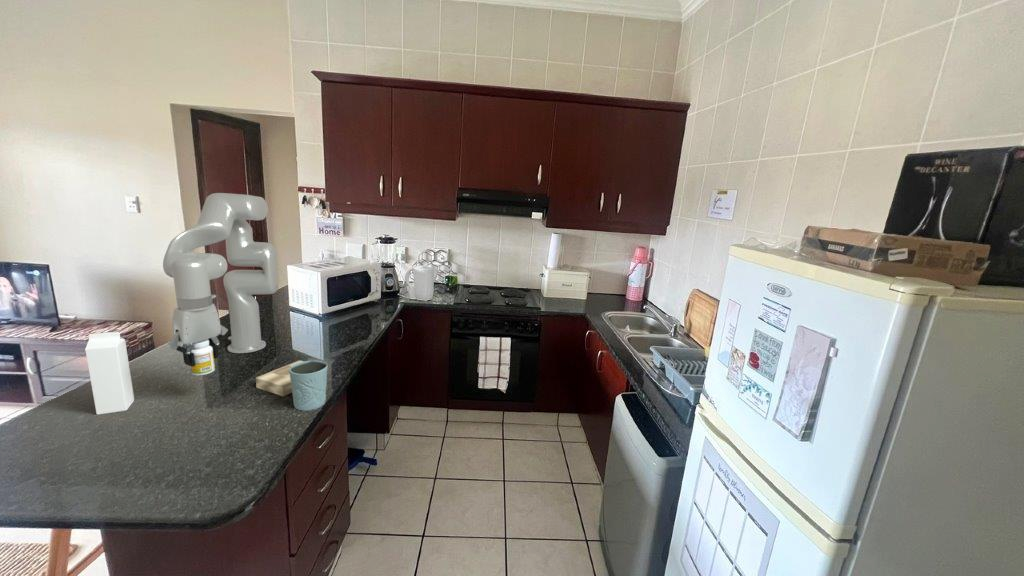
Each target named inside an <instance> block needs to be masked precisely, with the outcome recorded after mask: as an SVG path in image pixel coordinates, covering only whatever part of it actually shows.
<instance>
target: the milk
mask: <svg viewBox="0 0 1024 576" xmlns="http://www.w3.org/2000/svg"><path fill="white" fill-rule="evenodd" d="M84 350H85V358H86V361H87V362H86V363H87V367H88V372H89V373H88V374H89V380H90V385H91V390H92V391H91V392H92V396H93V403H94V406H95V413H96V415H103V414H111V413H117V412H124V411H125V412H126V411H127V410H128V409H129V408H130V406H131V405H132V404H133V403H134V401H135V394H134V389H133V388H134V387H133V382H132V376H131V375H132V374H131V369H130V363H129V357H128V351H127V344H126V339H125V338H124V337H121V334H120V332H119V331H113V332H100V333H89V334H88V341H87V344H86V347H85V348H84Z"/></svg>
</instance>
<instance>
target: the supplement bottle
mask: <svg viewBox="0 0 1024 576" xmlns="http://www.w3.org/2000/svg"><path fill="white" fill-rule="evenodd" d="M209 344H210V343H209V340H208V339H206V340H203V341H199V342H196V343H193V347H192V351H191V353H194V359H195V366H193V367H192V366H190V370H191V374H192V375H194V376H205V375H208V374H211V373H213V372H214V371H215V370H216V365H215V358H214V355H213V348H212V347H211V346H209Z"/></svg>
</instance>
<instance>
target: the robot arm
mask: <svg viewBox="0 0 1024 576" xmlns="http://www.w3.org/2000/svg"><path fill="white" fill-rule="evenodd" d="M268 212H269V207H268V203H267V201H266V199H265V198H264V197H261V196H257V195H251V194H243V193H242V194H241V193H240V194H239V193H225V192H215V193H211V194H210V195H208V196H207V197H206V198H205V201H204V204H203V207H202V209H201V212H200V215H199V218H198V220H197V223H196V224H195V225H193V226H191V227H189V228H187V229H185V230H184V231H182V232H180V233H179V234H177V235H176V236H175V237H173V239H171V241H170V242H169V243H168V246H167V248H166V251H165V255H164V257H163V261H162V268H163V272H164V273H165V275H166V276H168V277H169V278H173V286H174V293H175V297H176V306H177V308H174V309H173V313H172V338H171V339H170V341H169V342H168V343H167V345H166V347H167V348H170V349H173V350H176V351H178V352H180V353H182V356H183V362H184V364H185V365H187V366H189V367H191V366H192V367H193V366H195V359H194V353H191V351H192V347H193V343H196V342H199V341H203V340H206V339H208V340H209V346H211V347H212V348H213V355H214V359H218V358H219V345H220V342H221V340H222V339H224V336H225V334H226V333H228V331H229V329H228V328H227V327H225V326H223V325H222V324H221V321H220V316H219V313H218V310H217V307H216V305H215V303H213V300H215V299H217V295H216V294H215V293H213V294H212V293H211V291H212V290H211V283H210V281H212V280H216V279H219V278H221V277H223V280H222V281H223V287H224V290H225V292H226V293H225V294H226V298H227V301H228V311H229V321H230V322H229V323H230V333H231V336H228V337H227V339H228V340H229V341H230V342H231V343H230V344H229V345H228V346H227V352H230V353H234V354H249V353H253V352H257V351H260V350H263V349H264V348H265V347H267V343H266V341H265V340H262V333H261V320H260V306H259V303H258V301H257V299H256V298H255V297H254V296H253V295H273V294H275V293H276V292H277V291H278V289H279V272H278V254H277V250H276V248H275V246H274V244H272V243H270V242H265V241H263V242H260V241H254V235H253V228H252V226H251V225H250V223H249V222H248V221H262V220H264V219H266V217H267V216H268ZM223 241H225V252H226V258H227V260H226V258H225V256H223V255H221V254H218V253H213V252H212V253H211V252H210V253H209V252H208V253H206V252H205V253H204V252H192V251H194V250H196V249H199V248H201V247H205V246H209V245H213V244H216V243H219V242H223ZM228 263H229V264H230V265H231V266H234V267H252V268H253V267H257V268H262V269H233V270H230V271H228ZM179 342H181V345H178V343H179Z"/></svg>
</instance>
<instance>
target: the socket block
mask: <svg viewBox="0 0 1024 576" xmlns="http://www.w3.org/2000/svg"><path fill="white" fill-rule="evenodd" d="M304 361H305V360H304ZM304 361H303V360H300V359H299V360H296V361H293V362H292V363H288V364H287V365H284V366H281V367H279V368H276V369H274V370H271V371H269V372H267V373H264V374H261V375H259V376H257V377H255V383H256V384H255V387H256V389H260V390H262V391H265V392H269V393H272V394H274V395H278V396H280V397H286V396H287V395H289V394H293V393H292V387H291V379H290V373H289V368H290V367H291V366H293V365H295V364H297V363H300V362H304Z"/></svg>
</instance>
